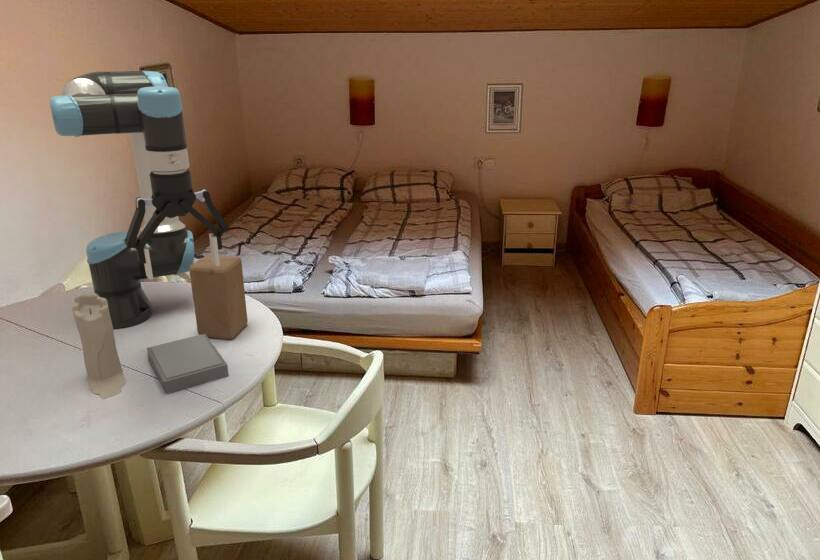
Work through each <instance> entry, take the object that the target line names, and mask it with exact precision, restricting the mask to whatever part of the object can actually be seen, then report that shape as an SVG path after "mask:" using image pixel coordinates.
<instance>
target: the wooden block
mask: <svg viewBox="0 0 820 560" xmlns="http://www.w3.org/2000/svg"><path fill="white" fill-rule="evenodd" d="M219 262H220V266H216V265H215V264H213V263H212V256H211V254H206V255H205V256H203V257H202V258H200V259H198V260H196V262H194V264H193V265H191V266H190V268H189V272H188V273H189V278H190V279H189V280H190V284H191V285H190V286H191V293H192V299H193V306H194V307H193V308H194V313H195V315H194V316H195V320H196V321H195V323H196V329H197V335H201V334H206V336H207V337H208V338H213V339H221V340H233V339H234V338H235V337H236V336H237V335H239V333H240V332H242V330H243V329H245V327H246V326H247V325H248V321H249V320H248V314H247V313H248V312H247V303H246V302H247V301H246V293H245V284H244V283H245V282H244V274H243V264H242V263H243V261H242V258H241V257H240V256H229V255H219Z"/></svg>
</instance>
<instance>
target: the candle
mask: <svg viewBox="0 0 820 560" xmlns="http://www.w3.org/2000/svg"><path fill="white" fill-rule="evenodd" d="M71 309H72V312H73V313H72V314H73V319H74V321H75V324H76V327H77V330H78V334H79V338H80V343H81V347H82V348H81V349H82V353H83V360H84V366H85V370H86V371H85V372H86V375H87V380H88V382H89V383H88V384H89V389H90V391H91V392H92V394H94V395H98V396H99V398H101V399H106V398H110V397H113V396H116V395H118V394H120V393H121V392H122V387H124V385H125V384H126V383H125V382H126V379H125V375H124V373H123V367H122V363H121V359H120V357H119V354H118V350H117V346H116V339H115V334H114V333H115V331H114V328H113V325H112V321H111V317H110V313H109V308H108V301H107V300H106V299H105V298H101V297H99V296H98V294H96V293H95V292H94V293H84V294H83V293H82V294H78V295H76V296H75V298H74V303H73V305H72V307H71Z"/></svg>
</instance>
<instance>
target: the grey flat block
mask: <svg viewBox="0 0 820 560" xmlns="http://www.w3.org/2000/svg"><path fill="white" fill-rule="evenodd" d="M146 353H147V358H148V360H149V363H150V364H151V366H152V368H153V371H154V373H155V374H156V377H157V378H158V380H159V383H160V385H161V388H162V389H163V391H164V393H165V394H170V393H174V392H176V391H180V390H184V389H187V388H190V387H193V386H194V387H195V386H197V385H201V384H205V383H209V382H212V381H215V380H219V379H222V378H225V377H229V367H228V363H227V362H226V361H225V359H224V358H223V356H222V355H221V353H220V352H219V351H218V349H217V348H216V346H215V345H214V344H213V342H212V341H211V340H210V337H207V336H206V334H201V335H199V334H197V335H194V336H189V337H186V338H181V339H177V340H173V341H170V342H166V343H161V344H158V345H153V346H149V347H146Z"/></svg>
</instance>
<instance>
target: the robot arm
mask: <svg viewBox="0 0 820 560" xmlns="http://www.w3.org/2000/svg"><path fill="white" fill-rule="evenodd" d="M49 105H50V106H49V107H50V112H51V116H52V121H53V125H54V128H55V129H54V130H55V132H56V134H57V135H59V136H62V137H83V136H97V135H98V136H99V135H113V134H116V135H117V134H122V135H123V134H129V135H130V140H131V146H132V152H133V159H134V163H135V170H136V176H137V182H138V187H139V189H138V190H139V195H140V196H138V197H136V198H135V210H134V214H133V216H132V219H131V222H130V224H129V226H128V230H127V231H123V232H122V231H117V232H109V233H107V234H104V235H100V236H99V237H96V238H94V239H93V240H91V241H90V242H89V243H88V244H87V245H86V248H85V249H86V250H85V251H86V257H87V259H86V263H87V264H88V267H89V272H90V277H91V280H92V281H91V282H92V286H93V291H94V293H96V294H98V296H99V297H101V298H105V299H106V300H107V301H108V308H109V313H110V317H111V321H112V325H113V329H121V328H127V327H132V326H135V325H138V324H141V323H143V322H145V321H147V320H148V319H149V318H150V317H152V315H153V307H152V303H151V301H150V300H149V298H148V296H147V294H146V293H145V291H144V289H143V288H142V283H141V280H146V279H147V280H149V281H150V280H154V278H159V277H167V276H173V275H174V276H177V275H179V274H184V273H190V272H189V268H190V266H191V265H193V264H194V263H195V242H194V235H193V232H192V231H191V230H187V227H186V224H185V223H183V222H182V221H181V220H180V219H179V217H186V215H188V214H190V215H192V216H193V217H194V218H195V219H196V220H198V221H199V222H200V223H201V224H202V225H204V227H206V228H207V229H209V231H211V232H212V233H208V237H209V246H210V255H211V256H212V263H213V264H215V265H216V266H220V262H219V250H222V249H223V243H222V241H223V240H222V237H223V233H226V232H229V230H230V227H229V225H228V224H227V222H226V221H225V219H224V218H223V216H222V215H221V214H220V212H219V211H218V209H217V208H216V206H215V204H214V203H213V201H212V198H211V194H210V192H209V191H208V190H206V189H205V188H202V189H200V190H199V191H195V192H194V190H193V183H192V182H193V181H192V174H191V171H190V170H189V168H190V160H189V159H190V158H189V152H188V145H187V137H186V131H185V130H186V129H185V121H184V113H183V112H184V111H183V110H184V104H182V98H181V93H180V91H179V89H178V88H176V87H173V86H172V87H171V86H169V84H168V83H167V80H166V78H165V76H164V75H163V74H162V73H161V72H159V71H153V70H152V71H150V70H130V71H129V70H123V71H122V70H120V71H93V72H89V73H85V74H81V75H78V76H75V77H73V78H72V79H69V81H67V82H66V83H65V84H64V85H63V88H62V90H61V94H60V95H53V96H52V97H51V98H50V99H49ZM197 199H198V200H199V201H200V202H201V203H203V204H204V206H205V207H206V208H207V210H208V211H209V213H210V214H211V216H212V217H213V219H214V221H215V222H216V224H218V226H217V227H216V226H215V225H214V224H213V223H212V222H211V221H210V220H209V219H207V218H206V217H205V216H203V214H201V213H200V212H199V211H198V210H196V209H195V208H194V207H193V205H194V204H195V202H196V201H197ZM143 220H144V224H143V226H142V223H143ZM141 226H142V227H141ZM139 232H140V234H139Z"/></svg>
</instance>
